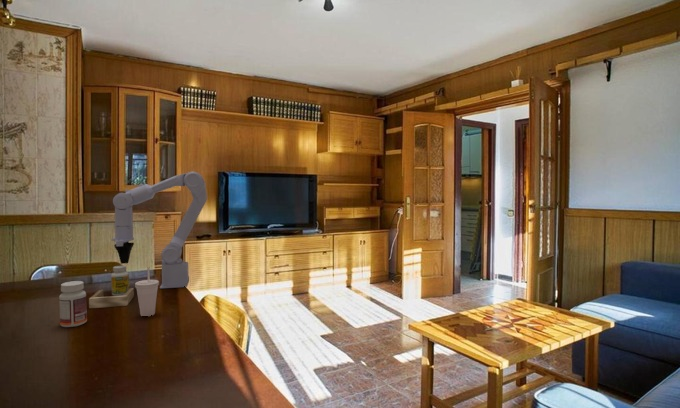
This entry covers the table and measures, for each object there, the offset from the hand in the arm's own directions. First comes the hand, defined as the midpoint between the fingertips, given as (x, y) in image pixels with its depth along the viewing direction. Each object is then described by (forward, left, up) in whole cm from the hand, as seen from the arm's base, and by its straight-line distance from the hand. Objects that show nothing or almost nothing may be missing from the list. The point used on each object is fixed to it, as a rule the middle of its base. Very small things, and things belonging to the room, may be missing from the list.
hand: (124, 263), depth 143 cm
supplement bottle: (0, +7, -10) cm, 12 cm away
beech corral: (0, +17, -9) cm, 19 cm away
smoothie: (-13, +33, -10) cm, 37 cm away
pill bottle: (+5, +36, -10) cm, 38 cm away
